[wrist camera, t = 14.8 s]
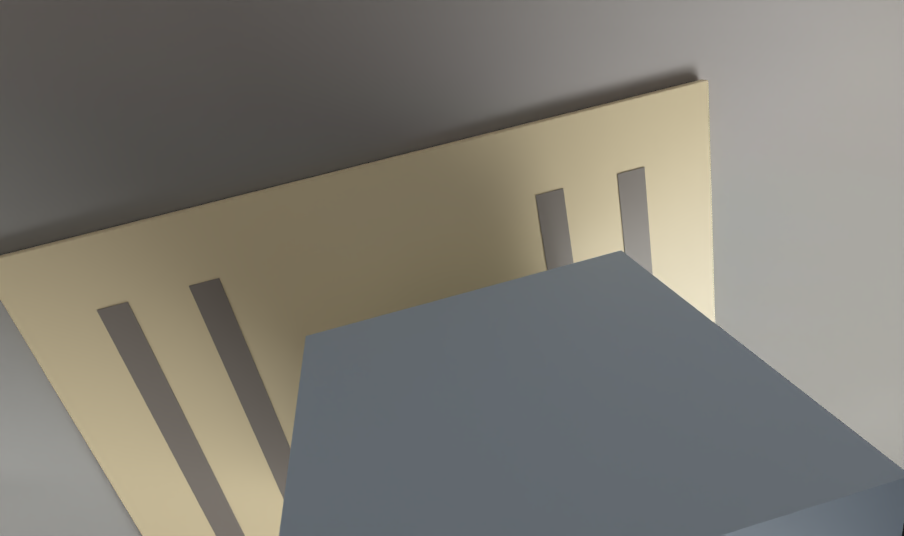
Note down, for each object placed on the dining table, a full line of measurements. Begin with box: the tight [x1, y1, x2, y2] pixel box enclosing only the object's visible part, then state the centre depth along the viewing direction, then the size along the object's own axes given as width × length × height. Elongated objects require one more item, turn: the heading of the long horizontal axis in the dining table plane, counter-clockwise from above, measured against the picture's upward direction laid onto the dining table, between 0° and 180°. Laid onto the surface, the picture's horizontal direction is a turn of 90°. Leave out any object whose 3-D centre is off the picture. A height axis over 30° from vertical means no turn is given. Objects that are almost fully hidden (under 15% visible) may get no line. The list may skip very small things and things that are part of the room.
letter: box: [0, 79, 715, 536], centre depth 11 cm, size 12×9×1 cm
